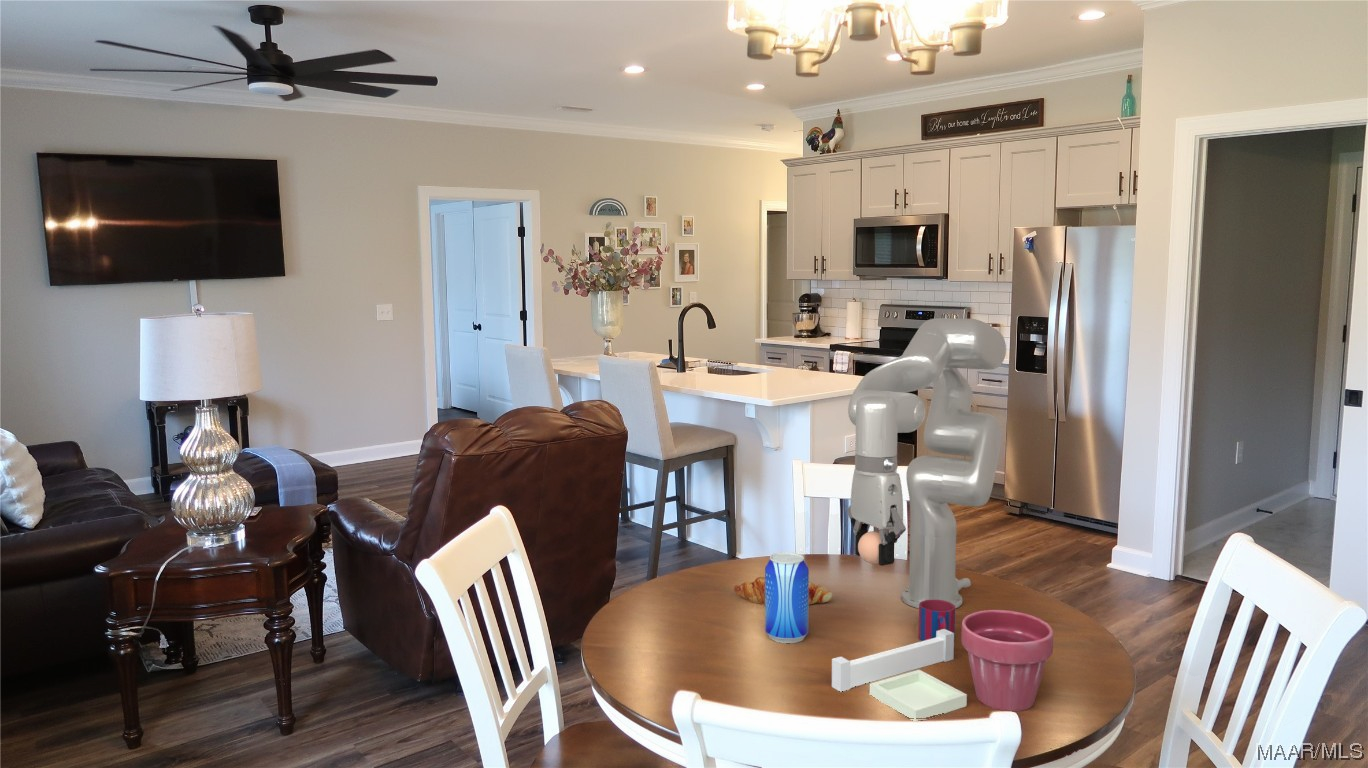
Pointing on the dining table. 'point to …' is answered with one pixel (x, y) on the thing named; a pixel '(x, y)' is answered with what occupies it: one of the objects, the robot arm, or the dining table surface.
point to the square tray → (918, 695)
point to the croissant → (757, 592)
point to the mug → (935, 618)
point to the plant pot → (1006, 656)
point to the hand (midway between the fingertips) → (874, 558)
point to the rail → (892, 661)
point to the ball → (870, 547)
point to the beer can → (786, 597)
